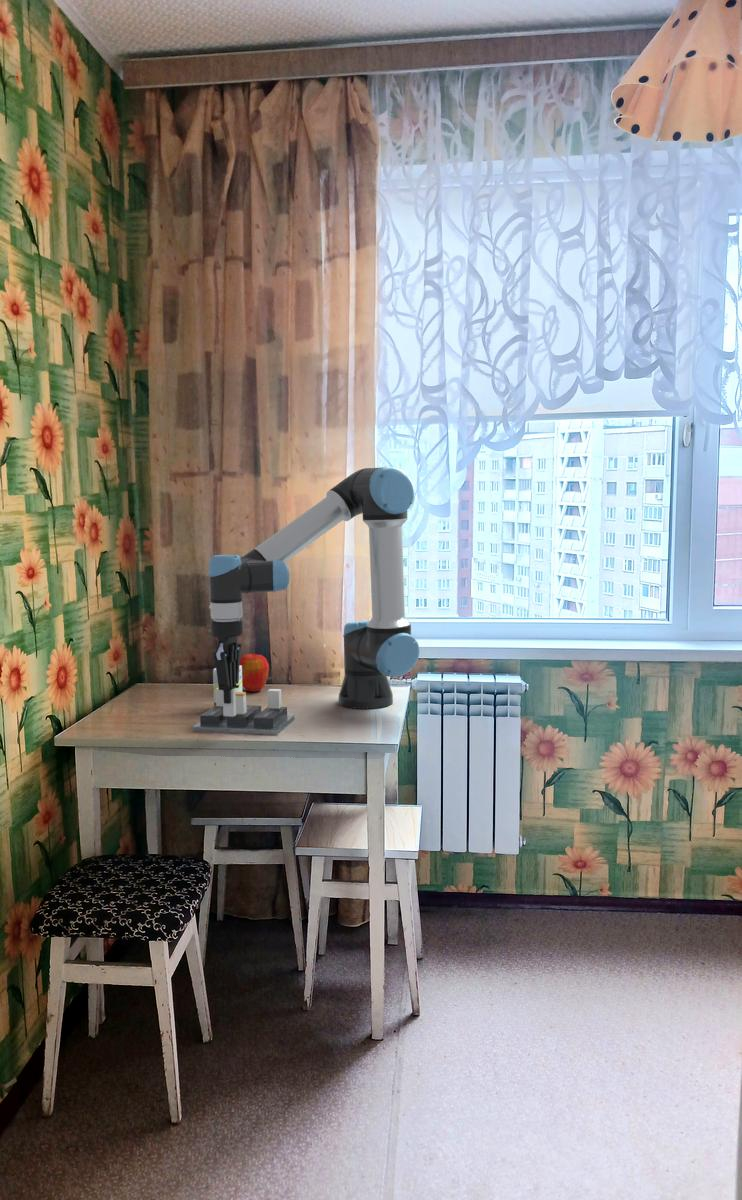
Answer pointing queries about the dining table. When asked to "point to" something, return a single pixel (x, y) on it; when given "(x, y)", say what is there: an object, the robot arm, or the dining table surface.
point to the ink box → (215, 685)
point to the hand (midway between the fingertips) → (229, 715)
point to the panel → (245, 729)
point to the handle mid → (241, 702)
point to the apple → (254, 671)
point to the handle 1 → (219, 697)
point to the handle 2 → (274, 698)
